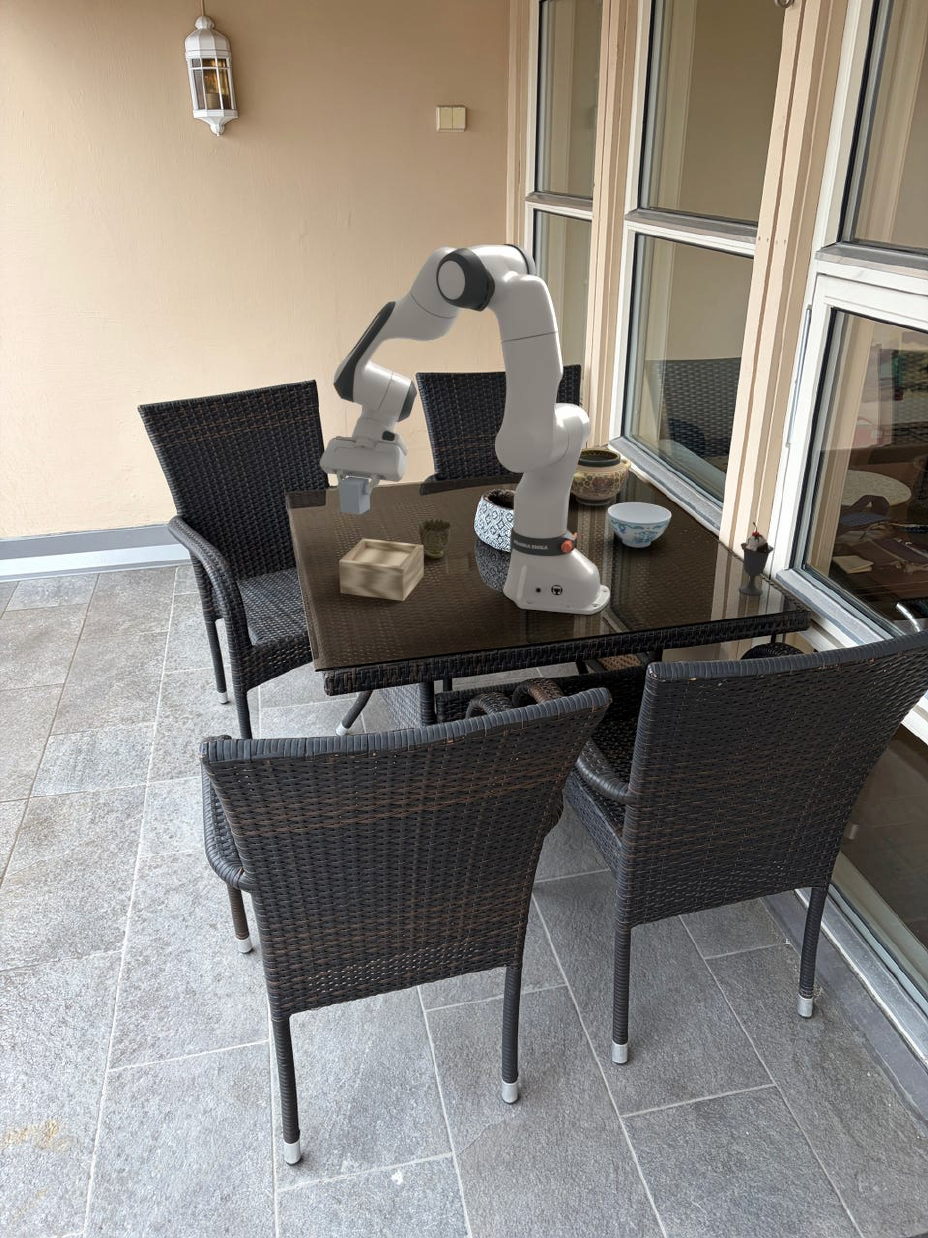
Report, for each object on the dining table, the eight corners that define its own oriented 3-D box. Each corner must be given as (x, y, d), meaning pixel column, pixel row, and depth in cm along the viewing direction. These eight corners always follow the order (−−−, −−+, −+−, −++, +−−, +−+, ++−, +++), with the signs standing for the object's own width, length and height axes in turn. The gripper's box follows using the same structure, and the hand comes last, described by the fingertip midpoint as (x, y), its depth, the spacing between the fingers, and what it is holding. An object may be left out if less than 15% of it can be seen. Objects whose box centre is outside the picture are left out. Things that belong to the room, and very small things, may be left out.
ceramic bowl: (611, 496, 266) (607, 443, 263) (654, 497, 251) (649, 441, 248) (542, 510, 255) (536, 455, 251) (582, 513, 240) (576, 454, 236)
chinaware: (602, 550, 221) (604, 519, 217) (608, 529, 234) (610, 499, 231) (666, 556, 218) (669, 525, 214) (669, 534, 231) (672, 505, 227)
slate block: (370, 508, 214) (368, 478, 211) (359, 514, 210) (358, 484, 207) (350, 505, 216) (349, 476, 213) (340, 512, 212) (338, 482, 209)
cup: (447, 563, 212) (447, 530, 209) (415, 561, 213) (415, 528, 210) (454, 552, 219) (454, 519, 215) (423, 549, 220) (423, 517, 217)
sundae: (738, 582, 204) (747, 517, 198) (769, 588, 201) (780, 522, 195) (730, 593, 199) (740, 526, 192) (762, 599, 196) (773, 532, 190)
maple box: (423, 576, 206) (423, 545, 203) (403, 602, 194) (402, 568, 191) (364, 569, 209) (363, 538, 206) (340, 594, 197) (338, 561, 194)
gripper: (326, 428, 216) (307, 480, 212) (406, 436, 209) (388, 490, 205) (336, 442, 221) (318, 493, 217) (414, 451, 214) (397, 504, 210)
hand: (352, 492), depth 211 cm, fingers closed on slate block, 5 cm apart
